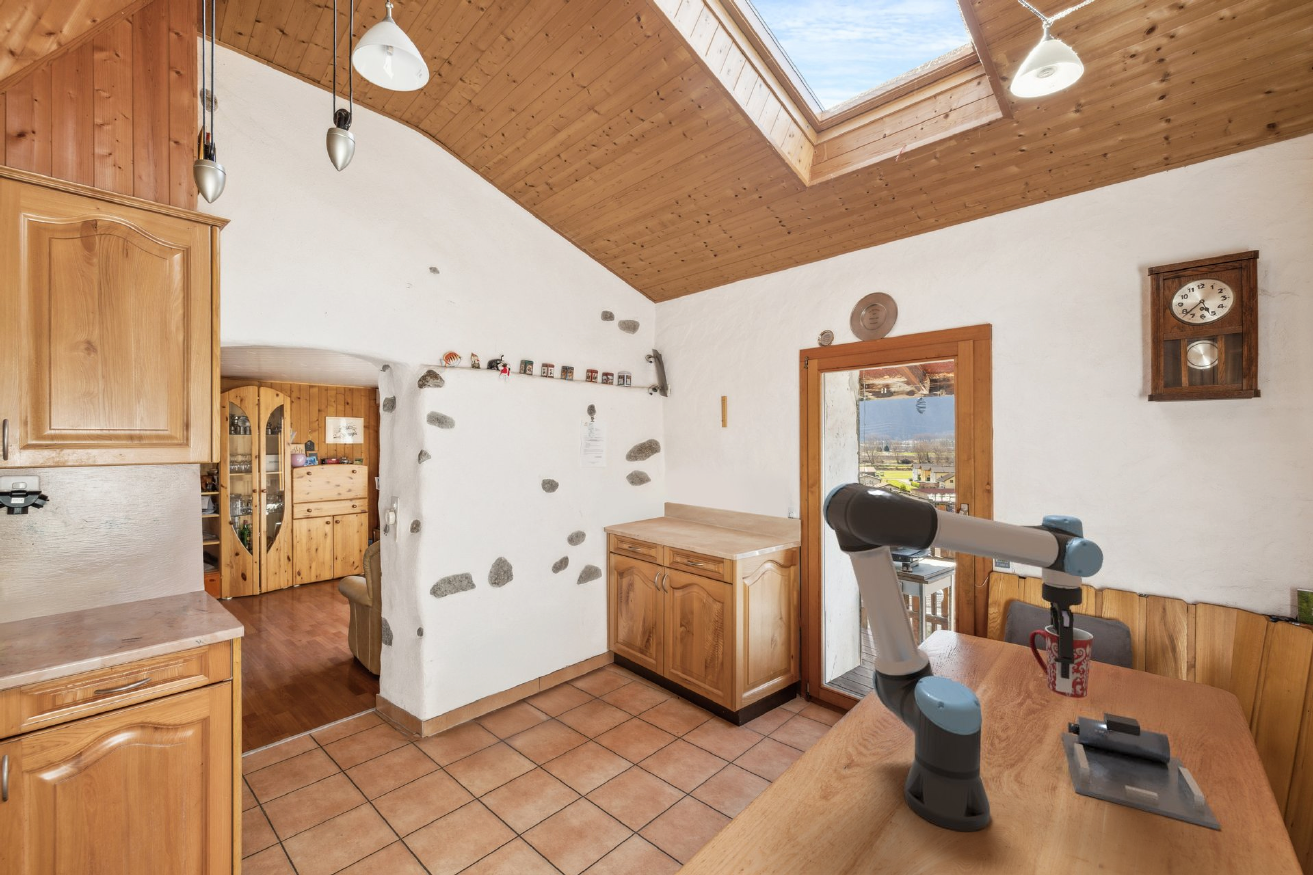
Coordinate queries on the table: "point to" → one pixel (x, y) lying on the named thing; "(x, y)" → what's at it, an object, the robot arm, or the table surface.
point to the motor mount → (1133, 769)
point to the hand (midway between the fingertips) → (1060, 683)
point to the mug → (1081, 657)
